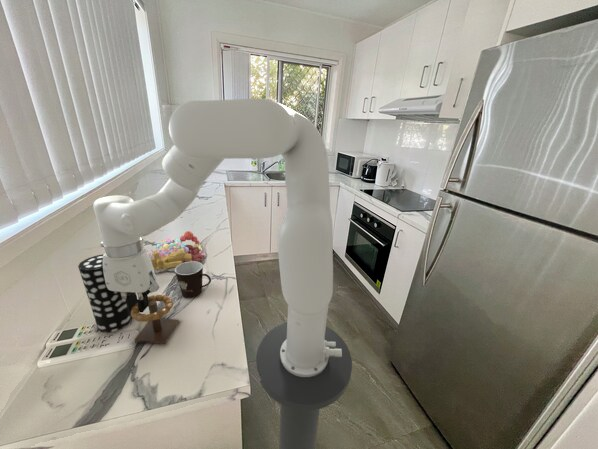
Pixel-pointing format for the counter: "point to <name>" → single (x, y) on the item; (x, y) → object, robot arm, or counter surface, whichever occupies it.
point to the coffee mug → (190, 278)
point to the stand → (156, 328)
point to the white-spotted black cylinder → (103, 297)
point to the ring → (154, 316)
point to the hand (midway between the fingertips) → (139, 308)
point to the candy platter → (175, 253)
